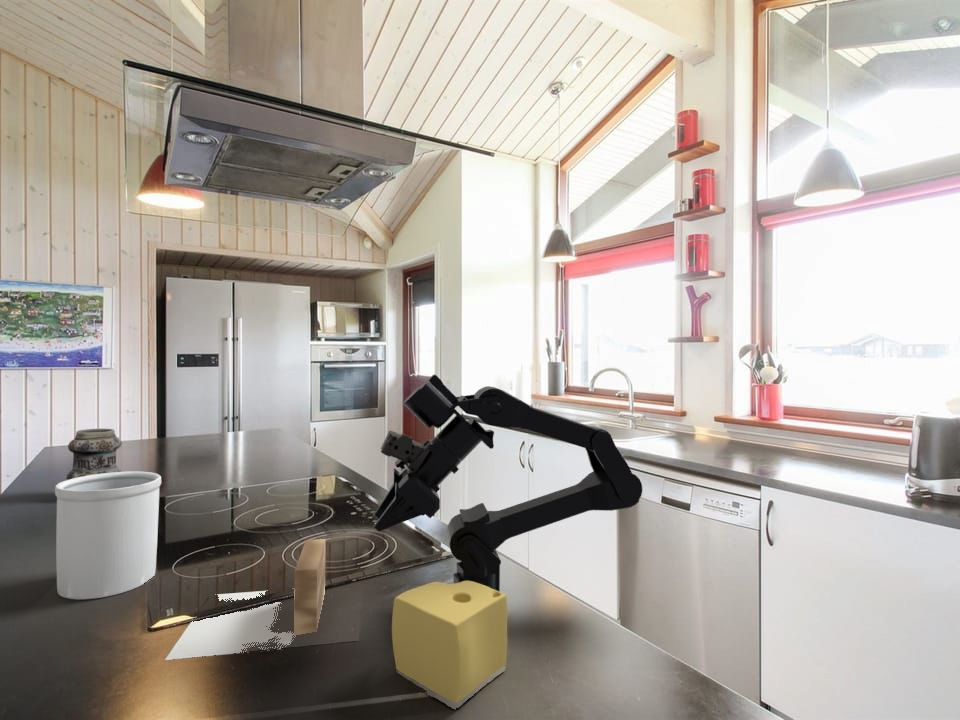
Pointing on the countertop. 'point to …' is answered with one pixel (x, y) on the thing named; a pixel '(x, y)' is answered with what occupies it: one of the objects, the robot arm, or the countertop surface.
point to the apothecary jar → (94, 452)
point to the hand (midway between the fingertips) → (376, 522)
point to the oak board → (309, 587)
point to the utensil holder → (106, 533)
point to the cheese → (450, 636)
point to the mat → (230, 631)
